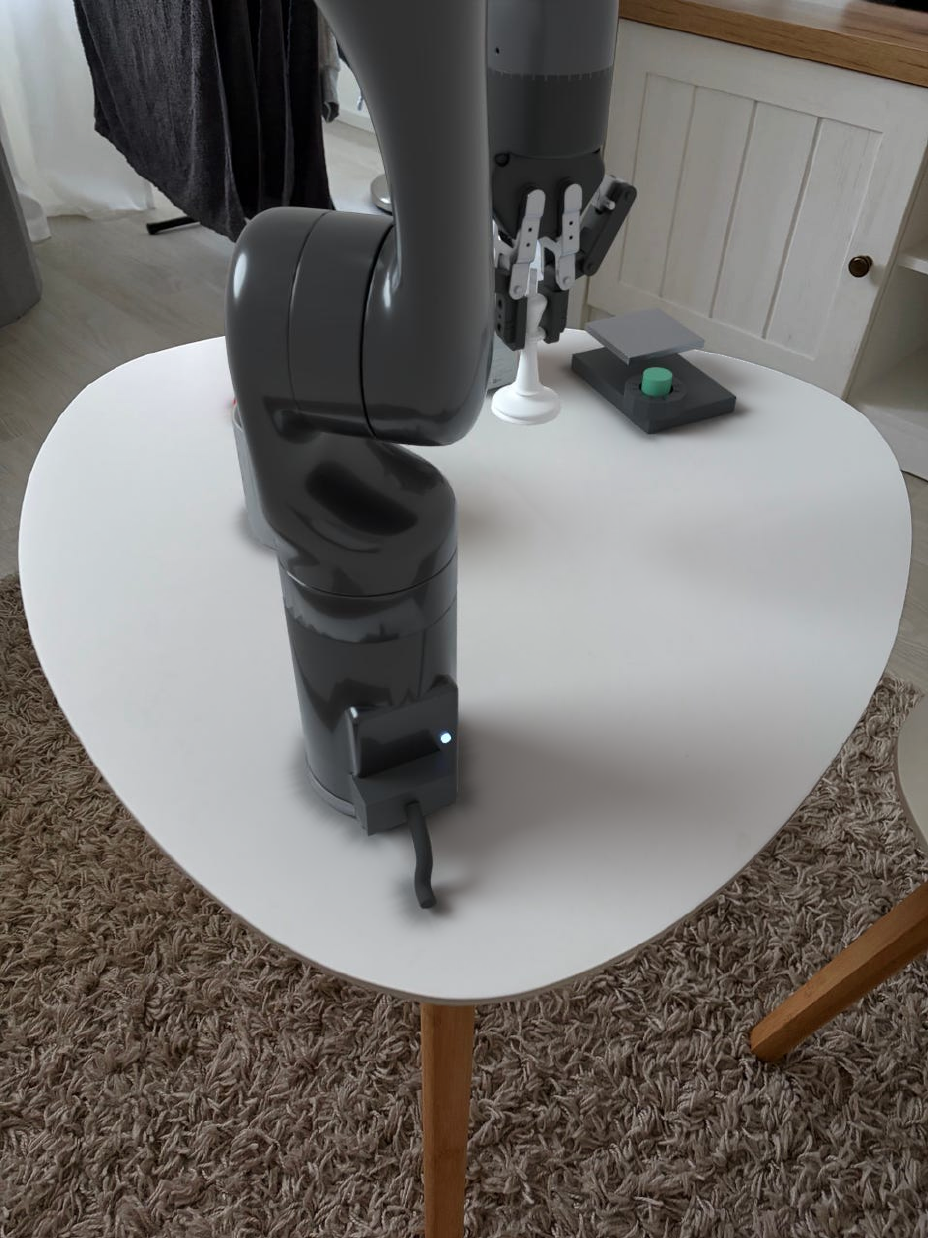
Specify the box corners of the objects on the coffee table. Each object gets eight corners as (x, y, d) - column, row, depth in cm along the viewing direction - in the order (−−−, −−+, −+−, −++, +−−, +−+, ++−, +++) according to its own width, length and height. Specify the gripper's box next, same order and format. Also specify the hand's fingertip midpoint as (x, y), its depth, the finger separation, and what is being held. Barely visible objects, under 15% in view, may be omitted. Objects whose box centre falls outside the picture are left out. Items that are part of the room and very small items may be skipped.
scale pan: (703, 347, 95) (705, 339, 94) (628, 365, 92) (629, 357, 91) (656, 314, 100) (657, 306, 99) (584, 330, 97) (584, 322, 97)
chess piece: (561, 393, 72) (572, 256, 65) (559, 427, 68) (571, 286, 61) (494, 389, 72) (498, 253, 65) (488, 423, 68) (492, 282, 62)
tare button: (675, 394, 90) (678, 377, 89) (651, 400, 89) (654, 383, 88) (659, 382, 92) (661, 364, 90) (635, 387, 91) (638, 370, 90)
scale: (738, 416, 93) (746, 382, 91) (642, 441, 90) (647, 407, 87) (651, 350, 103) (656, 318, 101) (561, 371, 100) (564, 338, 97)
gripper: (465, 79, 50) (461, 386, 62) (687, 56, 55) (646, 346, 66) (407, 49, 56) (414, 338, 67) (615, 30, 60) (588, 304, 72)
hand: (530, 341), depth 67 cm, fingers closed on chess piece
